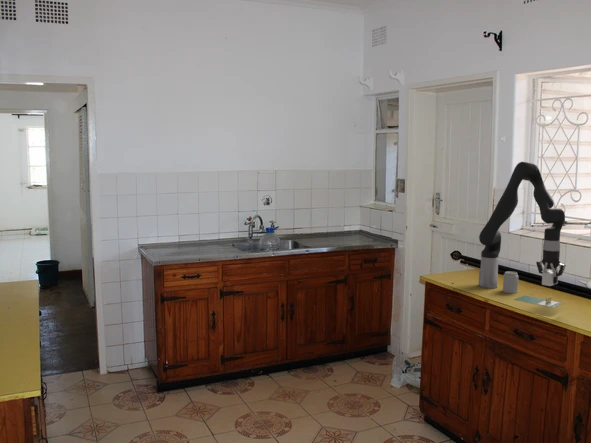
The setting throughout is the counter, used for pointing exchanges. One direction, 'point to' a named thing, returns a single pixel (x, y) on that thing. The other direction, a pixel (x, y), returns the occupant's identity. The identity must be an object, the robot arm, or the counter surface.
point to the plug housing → (548, 278)
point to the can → (510, 282)
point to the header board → (539, 301)
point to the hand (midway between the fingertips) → (549, 282)
